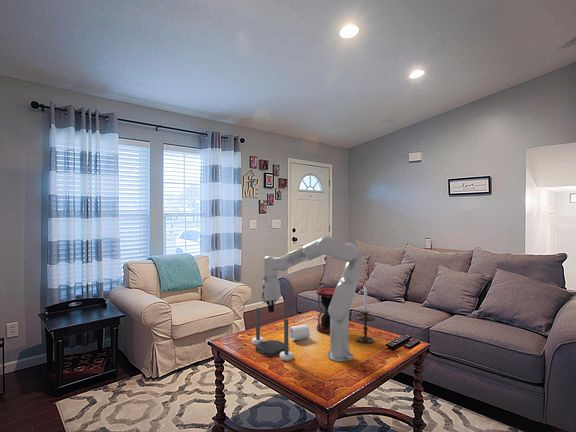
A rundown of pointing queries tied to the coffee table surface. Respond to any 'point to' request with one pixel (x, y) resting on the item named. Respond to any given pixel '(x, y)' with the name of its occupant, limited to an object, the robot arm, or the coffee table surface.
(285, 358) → the post
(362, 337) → the candlestick
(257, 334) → the far cord post
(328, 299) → the hourglass
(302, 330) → the mug
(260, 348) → the media streaming box
